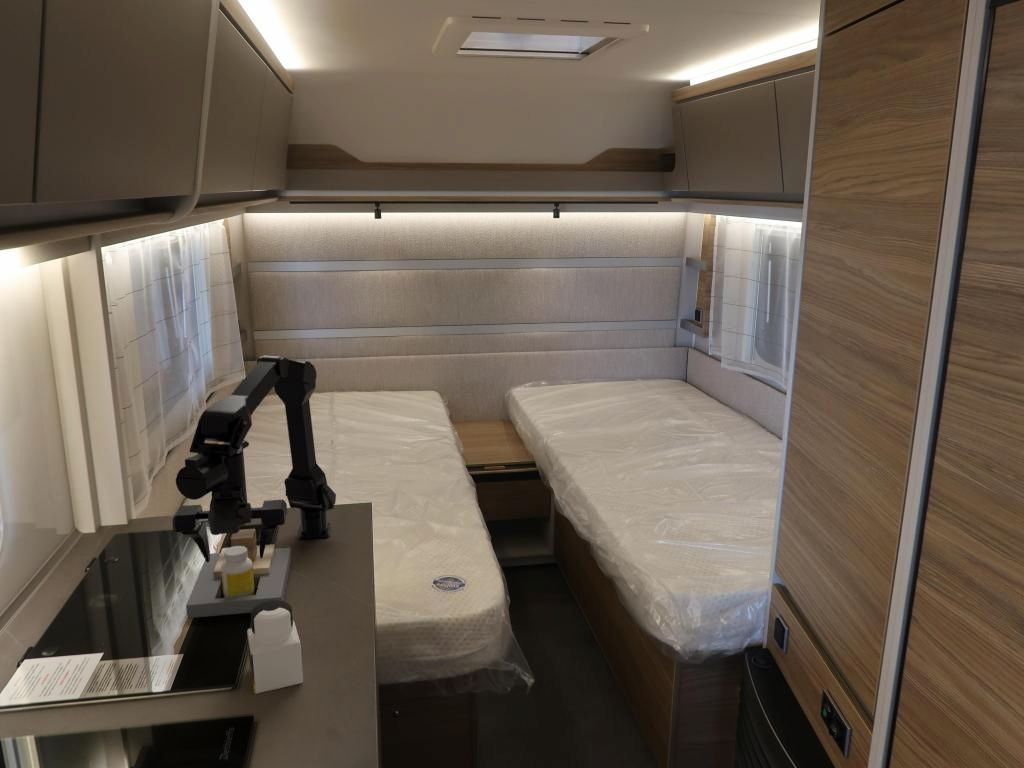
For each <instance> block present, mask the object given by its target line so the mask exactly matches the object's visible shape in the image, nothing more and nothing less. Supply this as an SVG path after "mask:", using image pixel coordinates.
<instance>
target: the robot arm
mask: <svg viewBox="0 0 1024 768" xmlns="http://www.w3.org/2000/svg"><path fill="white" fill-rule="evenodd" d="M316 380H317V370H316V368H315V365H314V364H313V363H311V362H310V361H308V360H294V359H289V358H286V357H283V355H282V356H281V355H280V356H279V355H262V356H259V357H258V358H257V361H256V365H255V366H254V367H253V368H252V369H251V370H250V372H249V373H248V374H247V375H246V376H245V378H244V379H243V380H242V381H241V383H239V384H238V385H237V387H236V388H235V389H234V390H233V391H232V392H231V394H230V395H228V396H227V397H226V398H223V399H220V400H218V401H216V402H213V404H211V405H209V406H208V407H207V408H206V409H205V410H204V411H203V412H202V413H201V416H200V417H199V420H198V423H197V426H196V429H195V432H194V434H193V438H192V441H191V445H190V447H189V453H191V454H196V455H194V456H189V457H187V458H185V459H184V467H181V468H180V469H179V470H178V472H177V474H176V478H175V485H176V488H177V490H178V492H180V494H181V495H182V496H183V497H185V498H187V499H189V500H193V501H196V500H199V499H202V498H203V497H205V496H206V495H208V494H211V500H210V502H209V510H203V506H202V504H191V505H189V504H188V505H180V506H179V508H178V509H177V511H176V512H175V513H174V515H173V517H172V522H171V523H172V532H174V533H181V535H182V536H184V537H185V536H188V537H189V538H191V539H192V540H193V541H194V543H195V544H196V546H197V547H198V549H199V550H200V552H201V554H202V556H203V558H204V561H205V560H206V562H209V561H210V554H211V549H210V544H209V543H210V542H209V538H208V537H209V536H208V530H207V524H206V523H208V526H209V532H210V534H211V535H214V536H219V535H223V534H230V535H232V534H235V533H237V532H239V531H240V530H241V526H245V525H246V524H251V523H252V520H255V519H260V522H261V525H260V528H259V530H260V531H259V532H260V534H259V535H260V536H259V538H260V539H259V545H260V550H259V552H260V558H263V554H264V550H265V546H266V545H267V541H268V539H269V537H270V534H271V532H272V530H276V529H278V527H279V526H283V525H285V523H286V521H287V520H286V519H287V515H288V506H287V502H286V500H284V499H272V500H270V499H269V500H263V504H262V505H261V507H252V505H251V503H250V502H248V495H247V493H248V492H247V481H246V473H245V472H246V468H245V456H244V450H245V449H246V448H248V447H249V446H250V442H249V441H247V440H245V438H246V436H247V435H248V433H249V432H250V429H251V427H252V426H253V422H252V421H253V419H252V416H253V414H254V412H255V411H256V409H257V408H258V407H259V406H260V404H261V403H262V402H263V400H265V398H266V397H267V395H268V394H269V393H270V392H271V390H272V389H273V390H274V393H275V394H276V395H277V397H278V398H279V400H281V401H282V403H283V404H284V411H285V417H286V425H287V434H288V441H289V449H290V459H291V466H292V469H291V471H290V472H289V474H288V476H287V477H286V478H285V479H284V487H285V496H286V498H287V501H288V505H289V508H290V509H299V518H300V519H299V520H300V521H299V522H300V525H299V529H298V535H297V538H298V540H305V539H317V538H318V539H319V538H329V537H330V530H331V523H330V522H328V511H329V510H333V509H334V508H335V504H336V502H337V494H336V493H335V492H334V490H333V489H332V488H331V487H330V486H329V485H328V481H327V477H326V473H325V472H324V470H323V469H322V468H321V467H320V466H319V465H318V463H317V457H316V449H315V441H314V440H315V439H314V432H313V421H312V414H311V404H310V399H311V397H312V395H313V393H314V391H315V389H316V387H317V386H316V385H317V384H316V382H317V381H316ZM206 441H208V442H206ZM210 442H215V443H210ZM216 442H218V443H216Z"/></svg>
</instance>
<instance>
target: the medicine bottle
mask: <svg viewBox="0 0 1024 768" xmlns="http://www.w3.org/2000/svg"><path fill="white" fill-rule="evenodd" d="M249 614H250V622H251V623H250V625H251V626H250V627H251V628H248V629H247V630H246V635H247V645H248V656H249V667H250V673H251V674H250V675H251V681H252V686H253V692H254V694H261V693H265V692H270V691H273V690H279V689H283V688H287V687H292V686H296V685H300V684H302V683H303V681H304V677H303V662H302V648H301V640H300V637H299V634H298V630H297V627H296V624H295V621H294V619H293V607H292V605H291V603H289V602H287V601H285V600H284V601H282V600H270V601H266V602H263V603H260V604H258V605H257V606H255V607H254V608H253V610H252V611H251V613H249Z"/></svg>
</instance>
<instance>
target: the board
mask: <svg viewBox="0 0 1024 768" xmlns="http://www.w3.org/2000/svg"><path fill="white" fill-rule="evenodd" d="M220 553H221V552H213V553H210V561H209V562H206V560H205V559H204V562H203V564H202V565H201V569H200V571H199V574H198V576H197V578H196V580H195V583H194V585H193V588H192V591H191V593H190V595H189V598H188V599H187V602H186V605H185V607H186V614H187V615H186V616H187V619H193V618H204V617H205V618H206V617H215V616H225V615H226V616H227V615H238V614H248V613H249V614H251V611H252V610H253V608H254V607H255V606H257V605H258V604H260V603H263V602H266V601H270V600H282V601H285V597H286V590H287V589H286V588H287V584H288V579H289V575H290V568H291V561H292V551H291V547H283V548H282V547H280V548H279V547H278V548H275V552H274V556H273V560H272V564H271V569H270V573H266V574H254V575H253V577H254V589H255V590H256V593H255V595H252V596H240V597H229V598H224V597H222V594H223V583H222V577H216V578H214V573H213V572H214V569H215V566H216V564H217V561H218V559H219V556H220ZM256 588H258V589H256Z"/></svg>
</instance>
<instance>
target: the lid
mask: <svg viewBox="0 0 1024 768" xmlns="http://www.w3.org/2000/svg"><path fill="white" fill-rule="evenodd" d="M234 546H244V547H246V548H247V553H248V557H247V558H249V559H250V560H251V561H252V565H253V575H254V574H266V573H270V569H271V564H272V560H273V556H274V552H275V549H276V547H275V546H276V545H275V543H274V544H266V546H265V550H264V554H263V558H260V552H259V550H260V544H259V545H257V531H256V528H246V529H244V528H243V529H240V531H239V532H237V533H235V534H231V537H230V547H234ZM228 548H229V547H222V549H221V551H220V552H219V553H220V556H219V559H218V561H217V564H216V566H215V569H214V572H213V573H214V578H216V577H222V572H221V566H222V564H223V562H224V561H225V558H224V551H225V550H226V549H228Z"/></svg>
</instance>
